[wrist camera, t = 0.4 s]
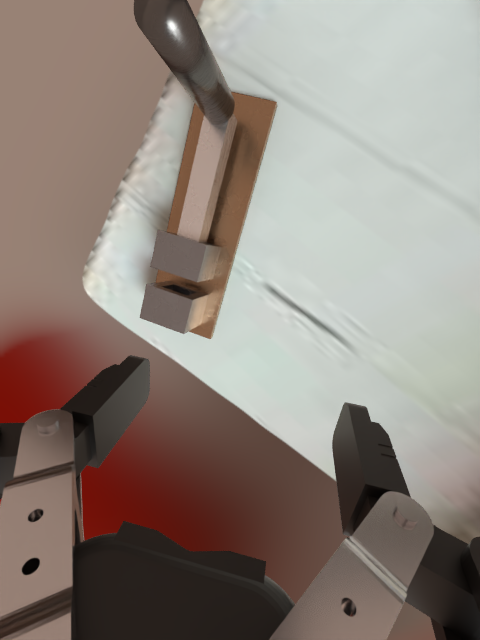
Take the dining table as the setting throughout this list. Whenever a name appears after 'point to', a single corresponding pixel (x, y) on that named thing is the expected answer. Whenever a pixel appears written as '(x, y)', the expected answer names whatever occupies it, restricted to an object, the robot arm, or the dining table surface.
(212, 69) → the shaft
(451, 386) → the dining table surface
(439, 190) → the dining table surface
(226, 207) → the shaft bracket
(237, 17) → the dining table surface
